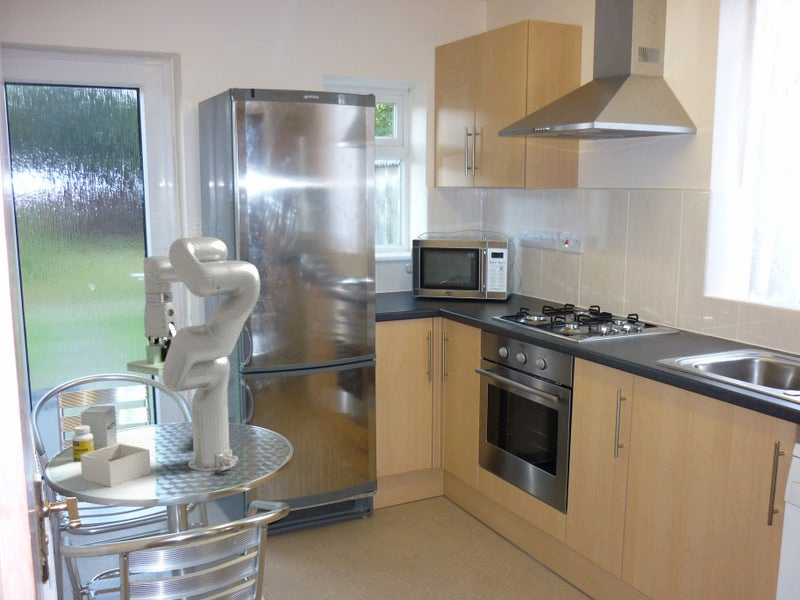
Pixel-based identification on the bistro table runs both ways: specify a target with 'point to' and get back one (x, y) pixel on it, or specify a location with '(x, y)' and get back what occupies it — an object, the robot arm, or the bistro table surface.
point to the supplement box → (101, 425)
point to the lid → (149, 362)
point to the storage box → (115, 464)
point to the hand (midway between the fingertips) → (162, 359)
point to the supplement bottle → (82, 442)
